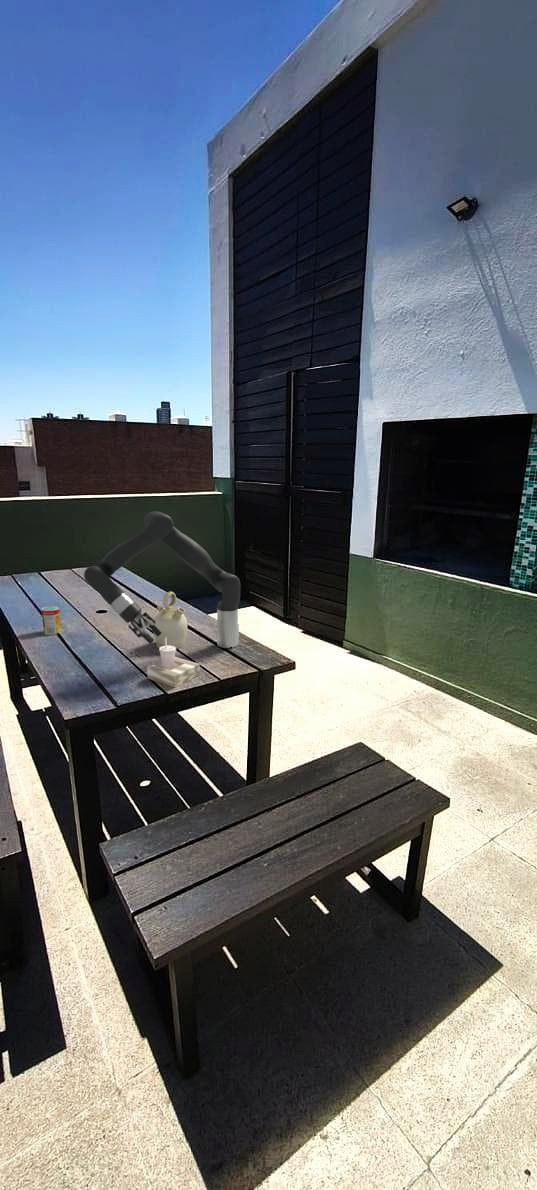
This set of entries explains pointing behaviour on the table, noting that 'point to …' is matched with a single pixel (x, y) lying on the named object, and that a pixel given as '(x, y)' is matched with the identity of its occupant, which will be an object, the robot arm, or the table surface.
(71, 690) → the table surface
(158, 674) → the notched board
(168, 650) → the white cup with straw
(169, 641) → the jug
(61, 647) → the table surface
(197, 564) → the robot arm
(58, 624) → the canned food
